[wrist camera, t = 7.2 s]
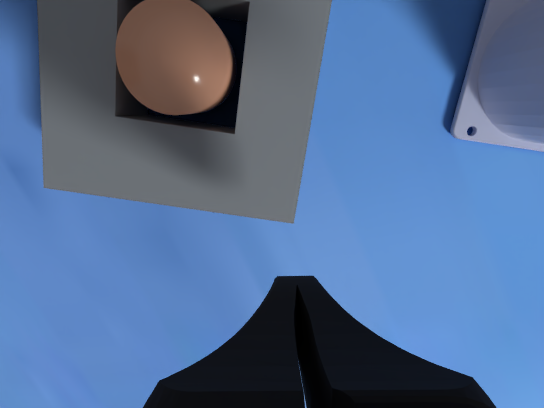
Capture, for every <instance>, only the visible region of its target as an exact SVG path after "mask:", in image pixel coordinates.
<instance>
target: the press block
mask: <svg viewBox="0 0 544 408" xmlns="http://www.w3.org/2000/svg"><path fill="white" fill-rule="evenodd" d="M142 1H144V0H37V11H38V39H39V67H40V95H41V123H42V152H43V180H44V188H49V189H56V190H63V191H70V192H77V193H84V194H91V195H98V196H105V197H112V198H119V199H126V200H133V201H140V202H147V203H154V204H161V205H168V206H175V207H182V208H189V209H196V210H203V211H210V212H217V213H223V214H230V215H237V216H244V217H251V218H258V219H265V220H272V221H279V222H286V223H293V224H294V218H295V212H296V206H297V201H298V195H299V189H300V183H301V177H302V171H303V166H304V160H305V154H306V148H307V142H308V136H309V131H310V125H311V119H312V113H313V107H314V101H315V96H316V90H317V84H318V78H319V72H320V66H321V61H322V55H323V49H324V43H325V37H326V31H327V26H328V20H329V14H330V8H331V2H332V0H190V1H192V2H194V3H196V4H197V5H199V6H200V7H201V8H203V9H204V10H205V11H206V12H207V13H208V14H209V15H210V16H211V17H217V18H223V19H230V20H236V21H242V22H248V23H247V31H246V40H245V49H244V58H243V66H242V75H241V84H240V93H239V102H238V110H237V119H236V127H229V126H222V125H215V124H209V123H202V122H195V121H189V120H182V119H175V118H168V117H162V116H155V115H148V114H147V111H148V107H146V106H145V105H143V104H142V103H140V102H139V101H138V100H137V99H136V98H135V97H134V96H133V95H132V94H131V93H130V91H129V90H128V89H127V87H126V86H125V84H124V82H123V80H122V78H121V76H120V73H119V70H118V67H117V62H116V53H115V48H116V39H117V34H118V31H119V28H120V26H121V24H122V22H123V20H124V18H125V17H126V16H127V14H128V13H129V12H130V11H131V10H132V9H133V8H134V7H135V6H136V5H138V4H139V3H141V2H142Z"/></svg>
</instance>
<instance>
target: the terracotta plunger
mask: <svg viewBox="0 0 544 408" xmlns="http://www.w3.org/2000/svg"><path fill="white" fill-rule="evenodd" d="M115 53H116V62H117V67H118V70H119V73H120V76H121V78H122V80H123V82H124V84H125V86H126V87H127V89H128V90H129V91H130V93H131V94H132V95H133V96H134V97H135V98H136V99H137V100H138V101H139V102H140V103H142V104H143V105H145V106H146V107H148V108H150V109H152V110H153V111H156V112H159V113H162V114H167V115H185V114H196V113H203V112H207V111H210V110H212V109H214V108H216V107H217V106H219V105H220V104H221V103H223V102H224V101H225V99H226V98H227V97H228V96H229V94H230V92H231V91H232V89H233V86H234V83H235V80H236V74H237V63H236V57H235V53H234V50H233V48H232V46H231V43H230V42H229V40H228V39H227V37H226V36H225V35H224V33H223V32H222V30H221V29H220V28H219V26H218V25H217V24H216V22H215V21H214V20H213V19H212V17H211V16H210V15H209V14H208V13H207V12H206V11H205V10H204V9H203V8H201V7H200V6H199V5H197V4H196V3H194V2H192V1H190V0H144V1H142V2H141V3H139V4H138V5H136V6H135V7H134V8H133V9H132V10H131V11H130V12H129V13H128V14H127V16H126V17H125V18H124V20H123V22H122V24H121V26H120V28H119V31H118V34H117V39H116V48H115Z"/></svg>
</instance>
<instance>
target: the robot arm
mask: <svg viewBox="0 0 544 408" xmlns="http://www.w3.org/2000/svg"><path fill="white" fill-rule="evenodd" d="M469 127H472V128H473V132H472V134H470V135H468V134H467V130H468V128H469ZM450 132H451V135H452V136H453V137H454V138H457V139H463V140H469V141H476V142H483V143H489V144H496V145H502V146H509V147H516V148H522V149H529V150H536V151H542V152H544V0H486V4H485V7H484V11H483V14H482V18H481V22H480V25H479V29H478V32H477V36H476V39H475V43H474V47H473V50H472V54H471V57H470V61H469V64H468V68H467V72H466V75H465V79H464V82H463V86H462V89H461V93H460V97H459V100H458V104H457V107H456V111H455V114H454V118H453V122H452V125H451V130H450ZM298 361H299V362H298ZM299 367H300V369H299ZM300 372H301V375H300ZM301 378H302V381H301ZM302 384H303V386H302ZM303 389H304V392H303ZM304 395H305V401H306V406H307V408H496V406H495V405H494V404H493V402H492V401H491V400H490V398H489V397H488V395H487V394H486V393H485V392H484V391H483V389H482V388H481V387H480V386H479V385H478V383H477V382H476V381H475V380H474V379H473V377H470V376H467V375H464V374H461V373H459V372H456V371H453V370H450V369H447V368H445V367H442V366H439V365H436V364H434V363H431V362H429V361H427V360H424V359H422V358H420V357H418V356H415V355H413V354H411V353H409V352H407V351H405V350H403V349H401V348H399V347H397V346H396V345H394V344H392V343H390V342H388V341H387V340H385V339H383V338H382V337H380V336H378V335H377V334H375V333H374V332H372V331H371V330H369V329H368V328H367V327H365V326H364V325H362V324H361V323H360V322H358V321H357V320H356V319H355V318H353V317H352V316H351V315H350V314H349V313H348V312H346V311H345V310H344V309H343V308H342V307H341V306H340V305H339V304H338V303H337V302H336V301H335V300H334V299H333V298H332V297H331V296H330V295H329V293H328V292H327V291H326V290H325V289H324V288H323V286H322V285H321V284H320V283H319V282H318V280H317V279H316V278H315V277H314V276H277V277H276V278H275V279H274V282H273V285H272V287H271V289H270V291H269V292H268V294H267V296H266V297H265V299H264V300H263V302H262V304H261V305H260V306H259V308H258V309H257V310H256V312H255V313H254V314H253V316H252V317H251V318H250V319H249V320H248V322H247V323H246V324H245V325H244V326H243V327H242V328H241V329H240V330H239V331H238V332H237V333H236V334H235V335H234V336H233V337H232V338H231V339H229V340H228V341H227V342H226V343H224V344H223V345H222V346H221V347H219V348H218V349H217V350H215V351H214V352H212V353H211V354H209V355H208V356H206V357H205V358H203V359H201V360H200V361H198V362H196V363H195V364H193V365H191V366H189V367H187V368H185V369H183V370H181V371H179V372H177V373H175V374H173V375H171V376H169V377H167V378H164V379H162V380H160V381H159V382H158V383H157V385H156V387H155V388H154V390H153V392H152V394H151V395H150V397H149V398H148V400H147V402H146V403H145V405H144V407H143V408H305V403H304Z"/></svg>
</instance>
